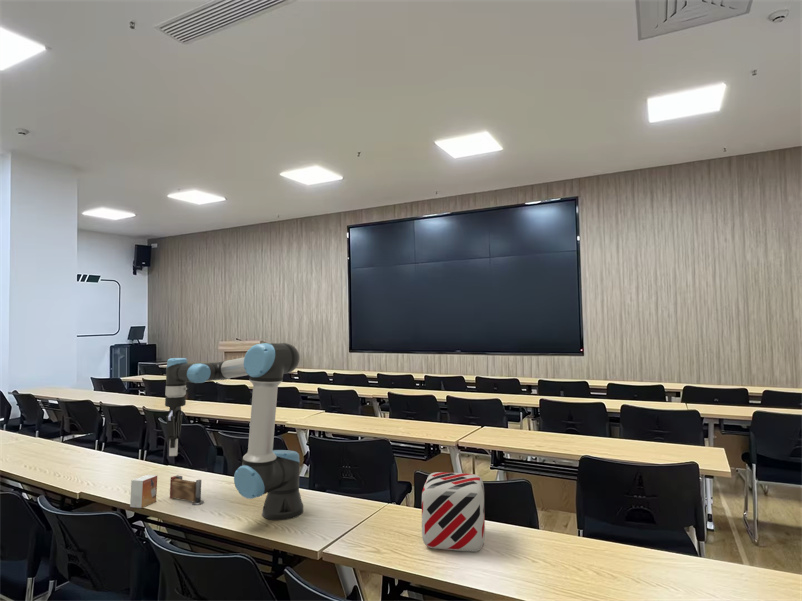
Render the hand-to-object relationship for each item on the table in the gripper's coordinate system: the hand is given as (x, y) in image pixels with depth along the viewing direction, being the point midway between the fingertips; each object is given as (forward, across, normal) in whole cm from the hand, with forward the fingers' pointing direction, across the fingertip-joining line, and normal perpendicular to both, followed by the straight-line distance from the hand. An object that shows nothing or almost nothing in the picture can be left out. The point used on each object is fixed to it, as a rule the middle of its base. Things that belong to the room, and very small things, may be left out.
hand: (173, 455), depth 185 cm
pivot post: (+19, +1, -10) cm, 22 cm away
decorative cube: (+20, -46, -104) cm, 116 cm away
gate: (+19, +5, -3) cm, 20 cm away
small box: (+20, +2, +11) cm, 23 cm away
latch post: (+19, +10, +1) cm, 22 cm away
